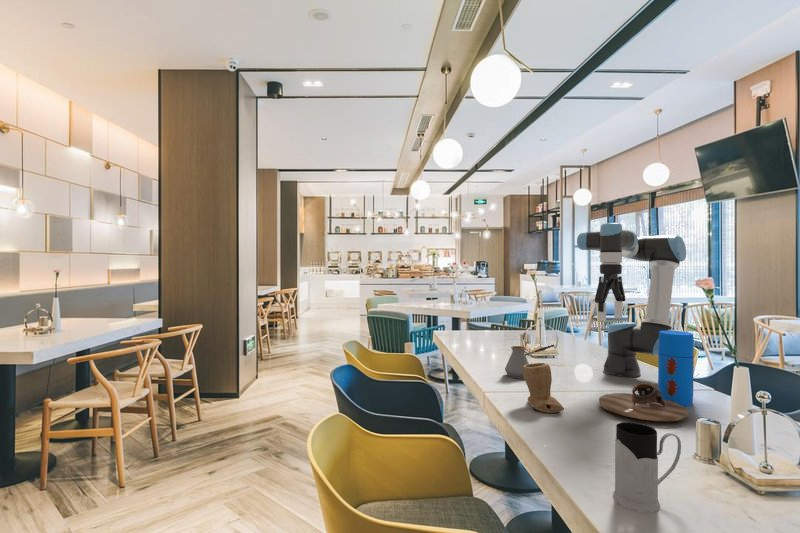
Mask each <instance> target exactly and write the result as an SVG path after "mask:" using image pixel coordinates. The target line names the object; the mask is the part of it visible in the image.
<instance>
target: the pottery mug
mask: <svg viewBox="0 0 800 533" xmlns="http://www.w3.org/2000/svg"><path fill="white" fill-rule="evenodd" d="M631 390H632V391H631V392H632V393H631V394H632V402H633V404H634V405H636V403H637V404H646V403H651V402H656V403H660V404H662V405H663V407H665V402H664V400H663V399H662V395H661V392H660V391H659V390H658V387H656V386H655V385H653V384H652V383H648V382H644V383H643V382H642V383H641V382H639V383H637V384H636V385H635V386H633V388H632V389H631ZM636 391H637V393H636ZM637 394H639V395H637Z"/></svg>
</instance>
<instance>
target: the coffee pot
mask: <svg viewBox="0 0 800 533" xmlns="http://www.w3.org/2000/svg"><path fill="white" fill-rule="evenodd" d="M510 348H511V350H512V351H511V354H510V356H509V359H508V361H507V363H506V366H505V367H504V370H505V373H506V374H507V375H508V376H509V377H511V378H514V379H524V376H523V366H524V365H526V364H530V363H529V360H528V357H527V356H529V355H532V354H535V353H539V352H542V351H545V350H548V349H551V348H554V349H556V347H555V344H551V345H548V346H542V347H540V348H538V349H536V350H532V351H530V352H526V353H525V350H526V349H527V348H526V346H522V345H521V346H520V345H513V346H512V345H511V347H510Z"/></svg>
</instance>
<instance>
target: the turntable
mask: <svg viewBox="0 0 800 533" xmlns="http://www.w3.org/2000/svg"><path fill="white" fill-rule="evenodd" d="M632 394H633V393H626V392H625V393H624V392H614V393H607V394H604V395H601V396H600V397H599V398H598V403H599V405H600V406H601V407H602V408H603V409H605V410H607V411H609V412H611V413H613V414H616V415H620V416H624V417H629V418H633V419H638V420H643V421H644V420H646V421H650V422H651V421H652V422H653V421H654V422H676V421H682V420H685V419H687V418H688V416H689V410H688V409H687V408H686V406H681V405H680V404H677V403H675V402H672V401H669V400H666V399H663V400H664V402H665V407H663V405H662V404H660V403H656V402H651V403H646V404H637V403H636V405H634V404H633V402H632ZM636 394H637V395H639V393H636Z"/></svg>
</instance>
